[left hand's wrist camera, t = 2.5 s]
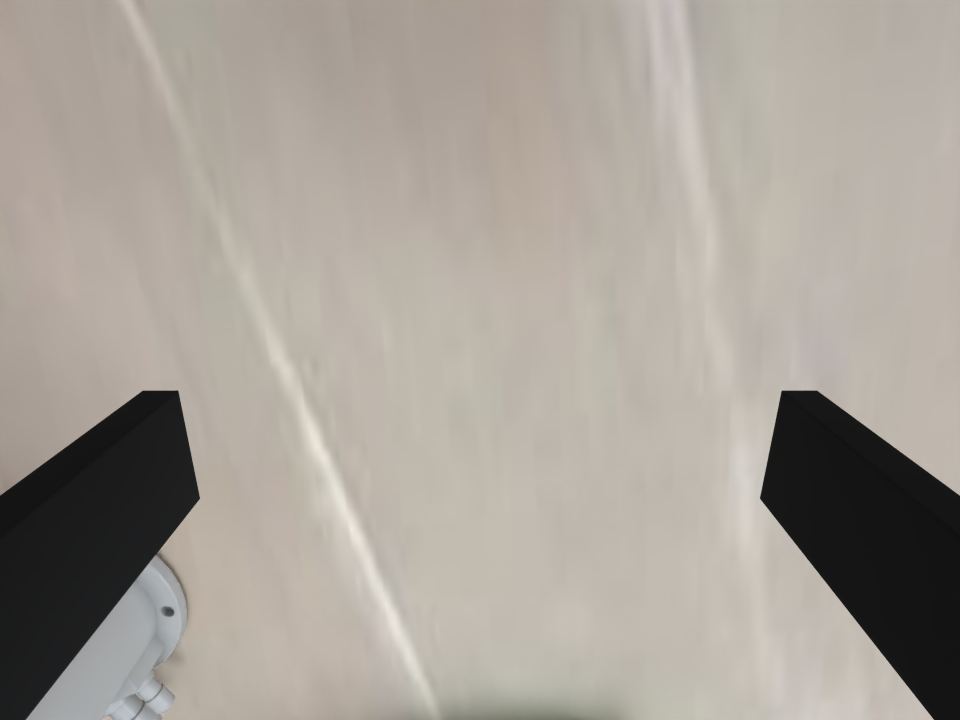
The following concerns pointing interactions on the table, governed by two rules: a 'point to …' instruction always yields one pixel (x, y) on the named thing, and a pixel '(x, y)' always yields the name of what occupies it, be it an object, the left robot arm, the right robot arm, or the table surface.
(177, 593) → the right robot arm
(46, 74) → the table surface
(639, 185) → the table surface
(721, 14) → the table surface
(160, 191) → the table surface
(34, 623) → the left robot arm
